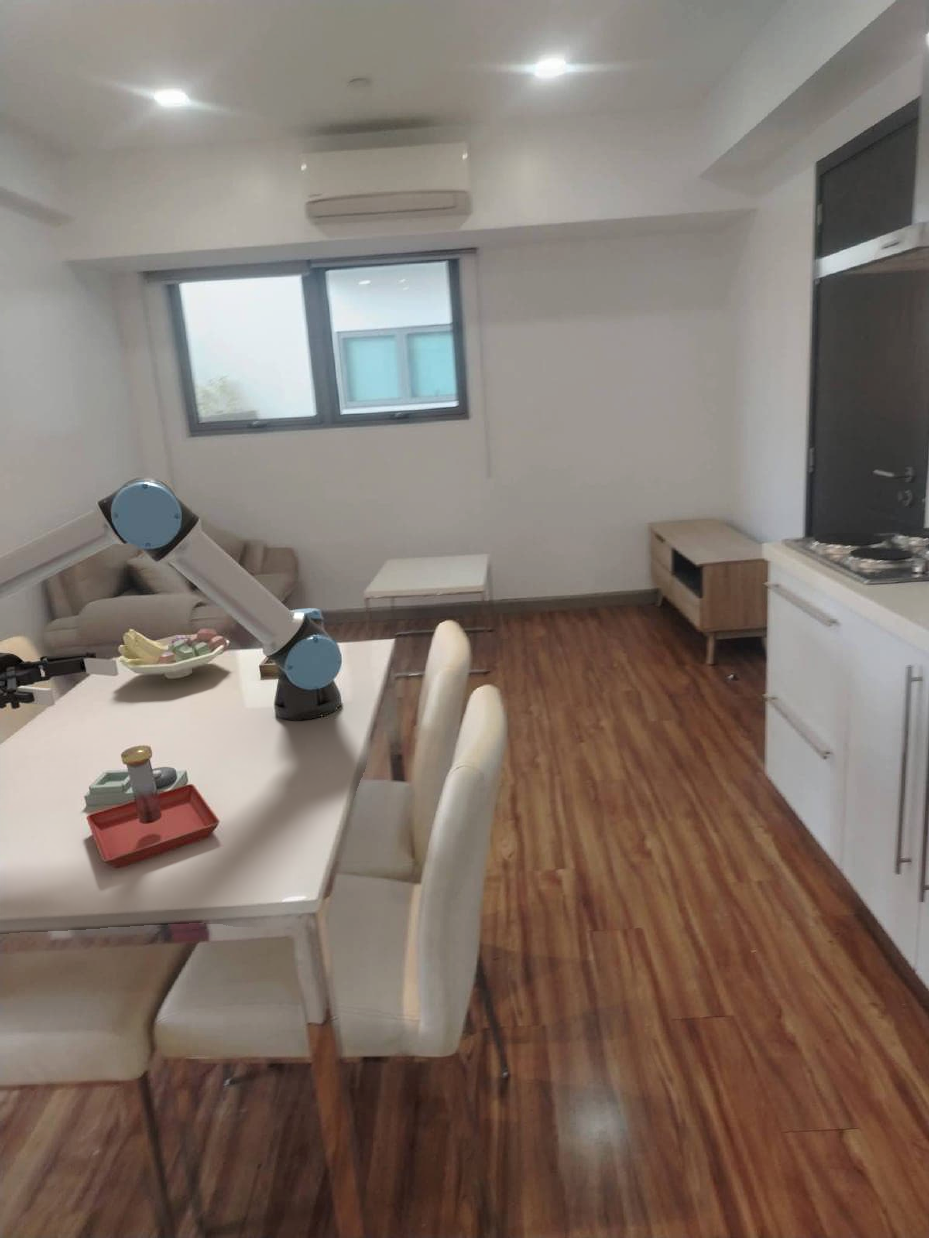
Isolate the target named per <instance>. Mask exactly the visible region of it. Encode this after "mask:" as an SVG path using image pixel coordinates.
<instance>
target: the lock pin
mask: <svg viewBox="0 0 929 1238" xmlns="http://www.w3.org/2000/svg"><path fill="white" fill-rule="evenodd" d="M120 757H121V762H122V764H123V765H126V768H127V769H128V774H129V778H130V782H131V787H132V791H133V796H134V800H135V805H136V809H137V814H138V818H139V822H140V823H142V824H149V823H153V822H155V821H157V820H159V819H160V818H161V817H162V813H161V808H160V804H159V799H158V794H157V790H156V785H155V780H154V776H153V771H152V769H153V766H152V762H151V758H153V751H152V747H151V746H149V745H144V744H143V745H136V746H132V747H129V748H127V749H125V750H124V751H122V752H121V754H120Z"/></svg>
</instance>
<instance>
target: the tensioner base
mask: <svg viewBox="0 0 929 1238" xmlns="http://www.w3.org/2000/svg"><path fill="white" fill-rule="evenodd" d="M152 771H153V776H154V780H155V785H156V790H157V794H158V793H161V792H165V791H168V790H171V789H175V788H178V787H181V786H185V785H186V783H188V781H189V777H188V772H187V770H184V769H183V770H176V769H175V768H174V767H171V766H161V767H155V768H152ZM88 789H89V790H88V791H87V793H85V794H84V795H83V797H84V801H85V805H86V806H87V807H89V806H103V805H104V806H105V805H118V804H119V805H122V804H125V803H128V802H132V801H135V800H134V796H133V791H132V787H131V782H130V778H129V774H128V769H126V768H125V769H113V770H112V769H111V770H106V771H103V772H102V773H101V774H100V775H99V776H98V777H97V778H96V779H95V780H94V781H93V782H92V783H91V784H90V785H88Z"/></svg>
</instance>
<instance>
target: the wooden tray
mask: <svg viewBox="0 0 929 1238" xmlns="http://www.w3.org/2000/svg"><path fill="white" fill-rule="evenodd" d="M258 668H259V674H260V677H270V676H271V677H274V676H277V669H276V664H275V663H273V662H272V661H271V660H270V659H269V658H268V657H267V656H265V658H264V659H263V660H262V661H261V662H260V664H259V665H258Z"/></svg>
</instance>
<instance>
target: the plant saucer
mask: <svg viewBox="0 0 929 1238" xmlns="http://www.w3.org/2000/svg"><path fill="white" fill-rule="evenodd" d="M158 799H159V804H160V808H161V813H162V817H161V818H160V819H159V820H157V821H155V822H153V823H149V824H142V823H140V822H139V818H138V814H137V809H136V805H135V801H132V802H128V803H123V804H119V805H116V806H112V807H108V808H106V809H102V810H100V811H97V812H96V811H95V812H93V813H90V814H88V815H87V816H86V821H87V823H88V826H89V829H90V832H91V834H92V836H93V838H94V842H95V844H96V847H97V849H98V852H99V854H100V857H101V860H102V861H103V862H104V863H106V864H107V865H110V866H111V867H115V868H122V867H125V866H128V865H130V864H133V863H137V862H139V861H142V860H144V859H145V860H146V859H148V858H150V857H151V858H152V857H153V856H158V855H159V854H163V853H165V852H168V851H171V850H174V849H177V848H179V847H183V846H186V845H188V844H191V843H195V842H197V841H199V840H202V839H206V838H208V837H210V836H211V835H212V833H214V831H215V830H216V829H217V827H218V826H219V824H220V823H221V822H220V819H219V818H218V817H217V815H216V814H215V813H214V811H213V810H212V808H211V807H210V806H209V804H208V803H207V802H206V799H205V798H204V797H203V795H201V793H200V792H199V790H198V789H197V787H196V786H195V785H194V784H192V783H188V784H185V785H184V786H181V787H178V788H175V789H171V790H168V791H165V792H161V793H158Z"/></svg>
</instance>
